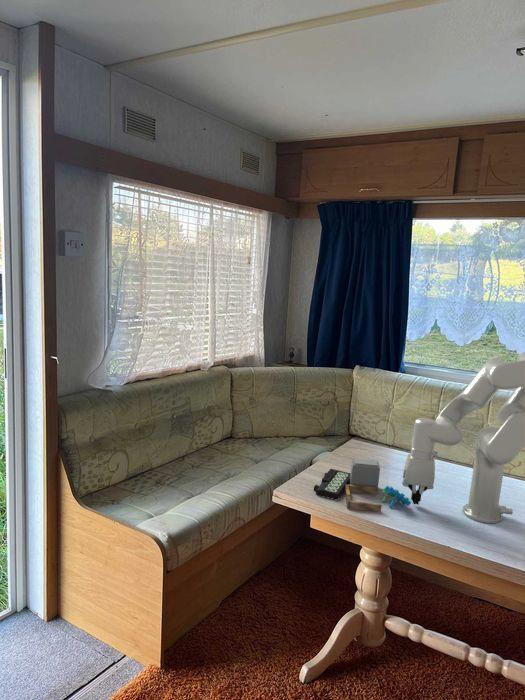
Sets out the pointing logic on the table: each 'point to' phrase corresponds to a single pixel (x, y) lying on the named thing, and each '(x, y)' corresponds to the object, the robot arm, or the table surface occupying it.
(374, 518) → the table surface
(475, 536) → the table surface
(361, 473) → the box
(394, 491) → the gear
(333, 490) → the digital display
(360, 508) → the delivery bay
